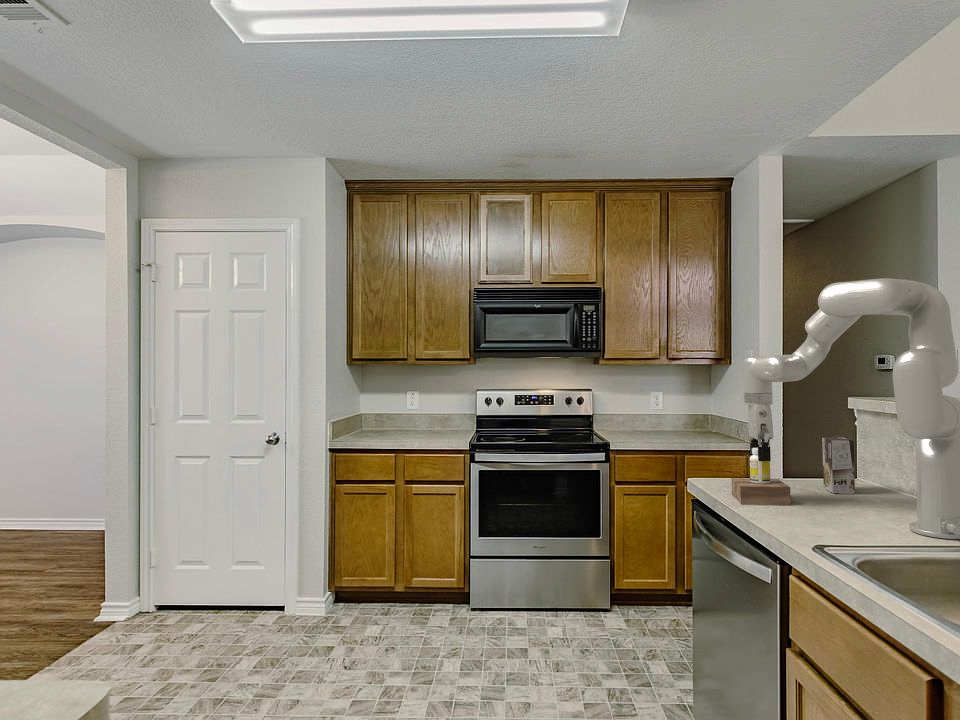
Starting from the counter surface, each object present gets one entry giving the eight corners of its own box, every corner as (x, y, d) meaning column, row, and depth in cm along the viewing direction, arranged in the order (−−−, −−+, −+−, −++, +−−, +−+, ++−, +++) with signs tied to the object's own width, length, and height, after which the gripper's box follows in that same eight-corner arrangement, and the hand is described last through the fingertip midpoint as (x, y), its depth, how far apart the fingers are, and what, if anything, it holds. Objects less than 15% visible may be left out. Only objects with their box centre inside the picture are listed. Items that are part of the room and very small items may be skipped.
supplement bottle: (771, 481, 190) (770, 447, 190) (770, 484, 185) (769, 450, 185) (750, 480, 192) (750, 447, 192) (749, 483, 187) (748, 449, 188)
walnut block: (790, 505, 181) (790, 487, 181) (741, 504, 183) (740, 486, 183) (778, 495, 194) (777, 478, 194) (731, 494, 196) (731, 478, 196)
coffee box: (856, 494, 194) (854, 439, 194) (832, 494, 195) (831, 439, 195) (845, 488, 203) (844, 436, 203) (822, 488, 204) (821, 436, 204)
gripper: (780, 400, 179) (782, 463, 179) (764, 397, 196) (766, 454, 196) (751, 401, 181) (753, 463, 181) (738, 398, 198) (740, 454, 198)
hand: (760, 458), depth 188 cm, fingers open, 9 cm apart
